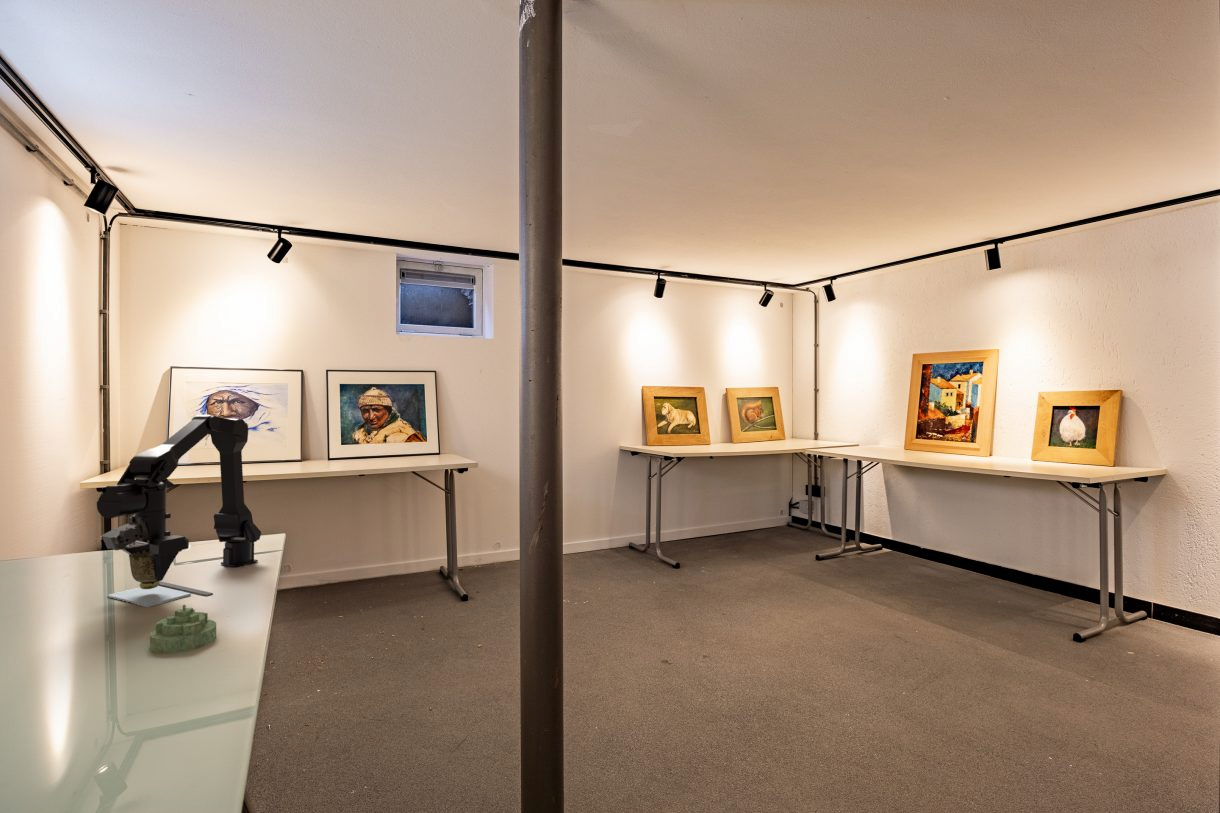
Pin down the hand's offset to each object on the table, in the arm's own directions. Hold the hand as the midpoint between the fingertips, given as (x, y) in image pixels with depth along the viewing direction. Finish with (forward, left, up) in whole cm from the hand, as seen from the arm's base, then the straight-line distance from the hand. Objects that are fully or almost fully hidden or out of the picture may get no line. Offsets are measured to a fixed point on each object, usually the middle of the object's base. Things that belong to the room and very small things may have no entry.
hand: (150, 578), depth 136 cm
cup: (0, 0, -2) cm, 2 cm away
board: (0, 0, -4) cm, 4 cm away
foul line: (-6, 0, -4) cm, 8 cm away
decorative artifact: (+12, +34, -4) cm, 36 cm away
